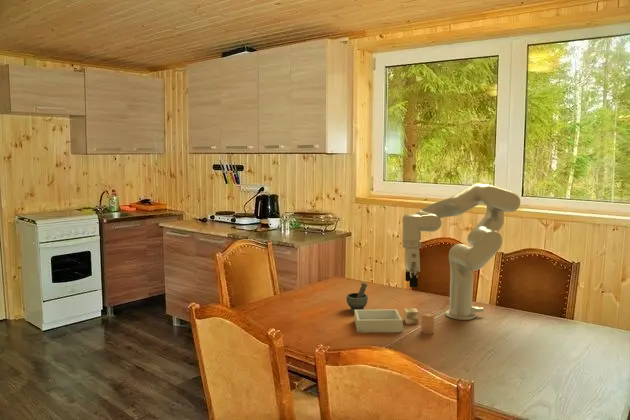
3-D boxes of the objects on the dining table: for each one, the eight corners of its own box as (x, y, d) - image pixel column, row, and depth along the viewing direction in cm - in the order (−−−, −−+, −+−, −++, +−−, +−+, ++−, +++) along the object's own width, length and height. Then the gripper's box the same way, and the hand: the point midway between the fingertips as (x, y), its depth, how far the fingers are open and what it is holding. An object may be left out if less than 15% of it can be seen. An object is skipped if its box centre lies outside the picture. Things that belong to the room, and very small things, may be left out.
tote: (396, 320, 220) (396, 309, 219) (402, 332, 206) (402, 320, 205) (354, 321, 220) (354, 309, 219) (357, 332, 206) (357, 320, 205)
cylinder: (432, 330, 209) (432, 313, 208) (435, 334, 204) (435, 317, 203) (419, 330, 209) (420, 313, 208) (422, 334, 204) (423, 317, 203)
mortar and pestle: (357, 315, 228) (358, 288, 226) (342, 310, 234) (342, 284, 233) (374, 309, 235) (374, 283, 234) (358, 305, 242) (358, 280, 241)
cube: (415, 319, 222) (416, 308, 221) (418, 323, 217) (418, 312, 216) (404, 319, 222) (404, 308, 221) (406, 323, 217) (406, 312, 216)
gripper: (425, 247, 207) (424, 289, 209) (416, 240, 224) (416, 278, 226) (406, 247, 207) (406, 289, 209) (399, 240, 224) (399, 278, 226)
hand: (411, 283), depth 217 cm, fingers open, 9 cm apart
